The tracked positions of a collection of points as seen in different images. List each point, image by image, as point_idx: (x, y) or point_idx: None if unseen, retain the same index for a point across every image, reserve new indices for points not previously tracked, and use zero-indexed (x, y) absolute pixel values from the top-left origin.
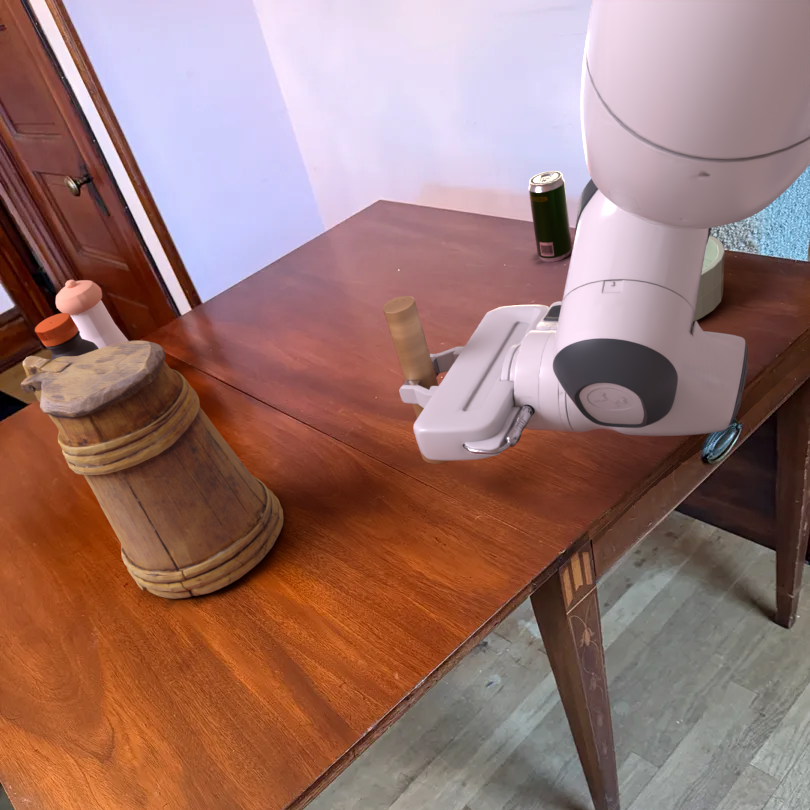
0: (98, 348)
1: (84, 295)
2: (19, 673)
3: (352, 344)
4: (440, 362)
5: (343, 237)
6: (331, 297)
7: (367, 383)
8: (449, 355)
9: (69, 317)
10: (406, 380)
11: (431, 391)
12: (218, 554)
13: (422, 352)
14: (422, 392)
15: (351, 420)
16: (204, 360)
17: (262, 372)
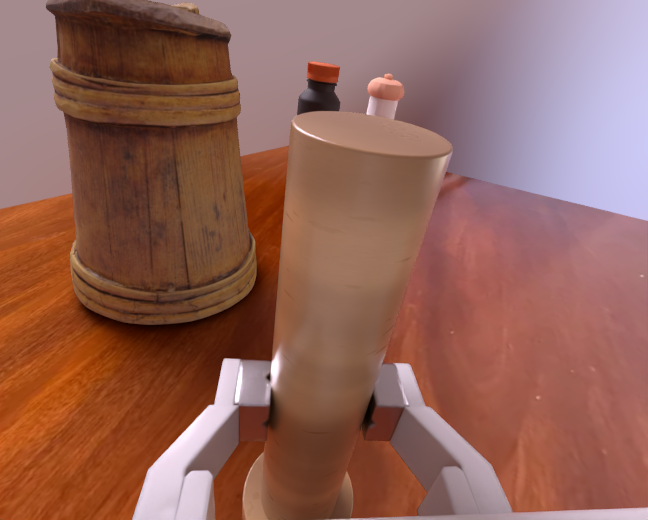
0: (336, 107)
1: (385, 86)
2: (19, 209)
3: (512, 278)
4: (405, 429)
5: (626, 223)
6: (554, 240)
7: (468, 314)
8: (439, 451)
9: (333, 67)
10: (267, 362)
11: (166, 490)
12: (93, 274)
13: (316, 358)
14: (169, 449)
15: (401, 322)
16: None
17: (428, 229)
